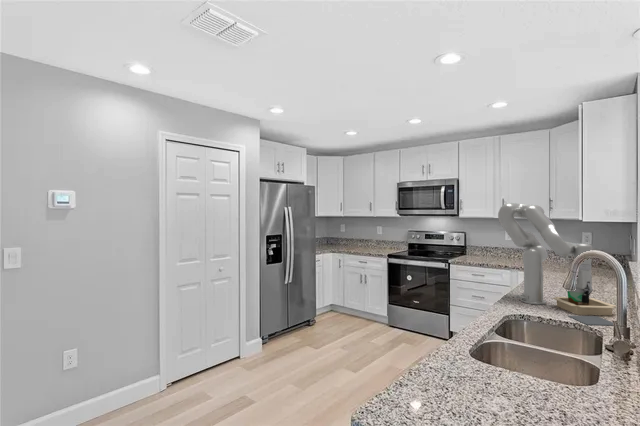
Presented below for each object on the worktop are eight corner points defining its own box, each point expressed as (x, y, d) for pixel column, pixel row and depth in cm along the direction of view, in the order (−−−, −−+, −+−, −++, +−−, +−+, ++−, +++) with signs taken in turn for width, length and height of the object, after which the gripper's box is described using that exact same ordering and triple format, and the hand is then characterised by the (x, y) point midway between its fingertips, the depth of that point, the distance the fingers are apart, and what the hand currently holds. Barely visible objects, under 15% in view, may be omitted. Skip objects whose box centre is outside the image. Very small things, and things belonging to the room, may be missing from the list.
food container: (576, 308, 182) (575, 288, 183) (566, 305, 188) (566, 286, 189) (597, 308, 184) (597, 288, 184) (587, 305, 190) (587, 286, 190)
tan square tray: (574, 315, 176) (574, 306, 176) (549, 304, 198) (549, 296, 198) (621, 316, 174) (621, 307, 174) (590, 305, 196) (590, 297, 196)
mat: (586, 325, 161) (586, 324, 161) (567, 316, 175) (567, 315, 175) (619, 325, 160) (619, 325, 160) (597, 316, 174) (597, 316, 174)
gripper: (564, 264, 195) (563, 296, 196) (586, 269, 178) (584, 305, 178) (579, 264, 195) (577, 297, 195) (601, 270, 178) (600, 305, 178)
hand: (581, 300), depth 187 cm, fingers closed on food container, 5 cm apart
